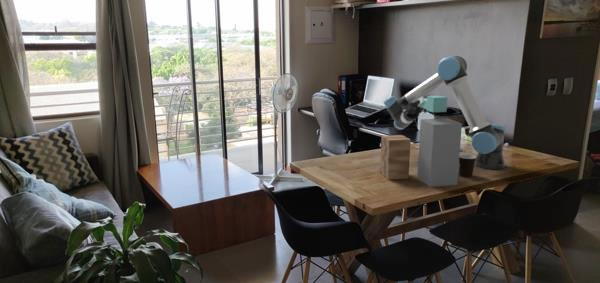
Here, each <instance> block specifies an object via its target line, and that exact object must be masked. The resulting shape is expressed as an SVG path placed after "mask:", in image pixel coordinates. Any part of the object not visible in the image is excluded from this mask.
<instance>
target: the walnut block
mask: <svg viewBox="0 0 600 283" xmlns="http://www.w3.org/2000/svg"><path fill="white" fill-rule="evenodd" d="M380 140H381V143H380V144H381V147H380V166H379V167H380V168H379V169H380V171H379V172H380V173H379V174H380V175H381V176H383V177H384V178H386V179H387V180H398V179H399V180H400V179H401V180H402V179H409V178H410V177H409V176H410V158H411V157H410V156H411V138H409V137H406V136H405V135H403V134H394V135H389V134H388V135H381V139H380Z"/></svg>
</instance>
